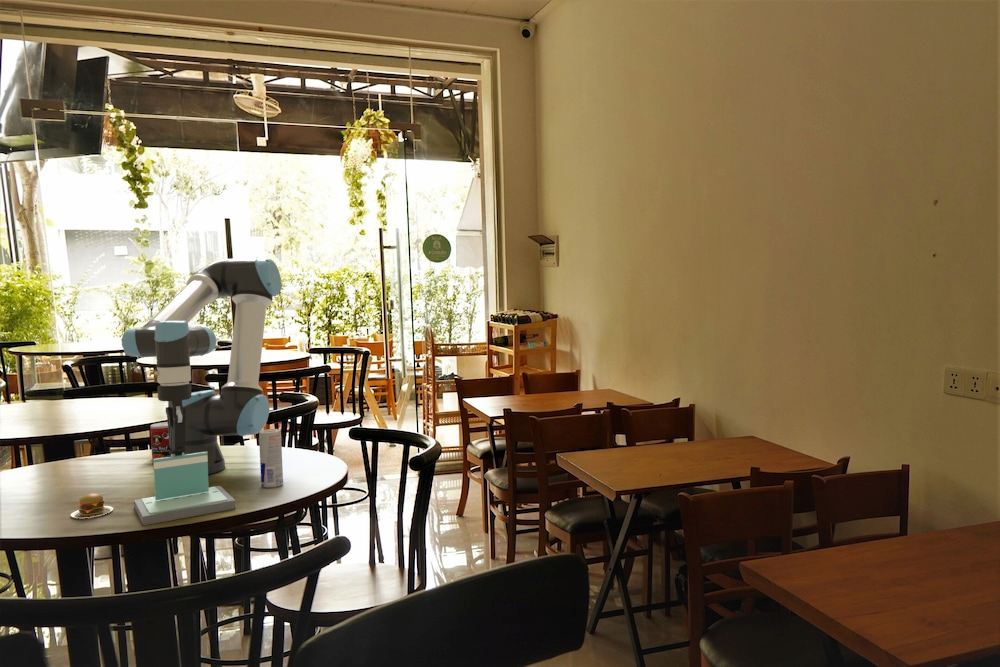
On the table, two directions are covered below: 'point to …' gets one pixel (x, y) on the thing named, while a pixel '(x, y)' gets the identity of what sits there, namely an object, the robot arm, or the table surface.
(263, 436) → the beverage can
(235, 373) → the robot arm
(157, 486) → the stub
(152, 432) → the canned food
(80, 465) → the table surface
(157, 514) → the board
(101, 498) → the hamburger
